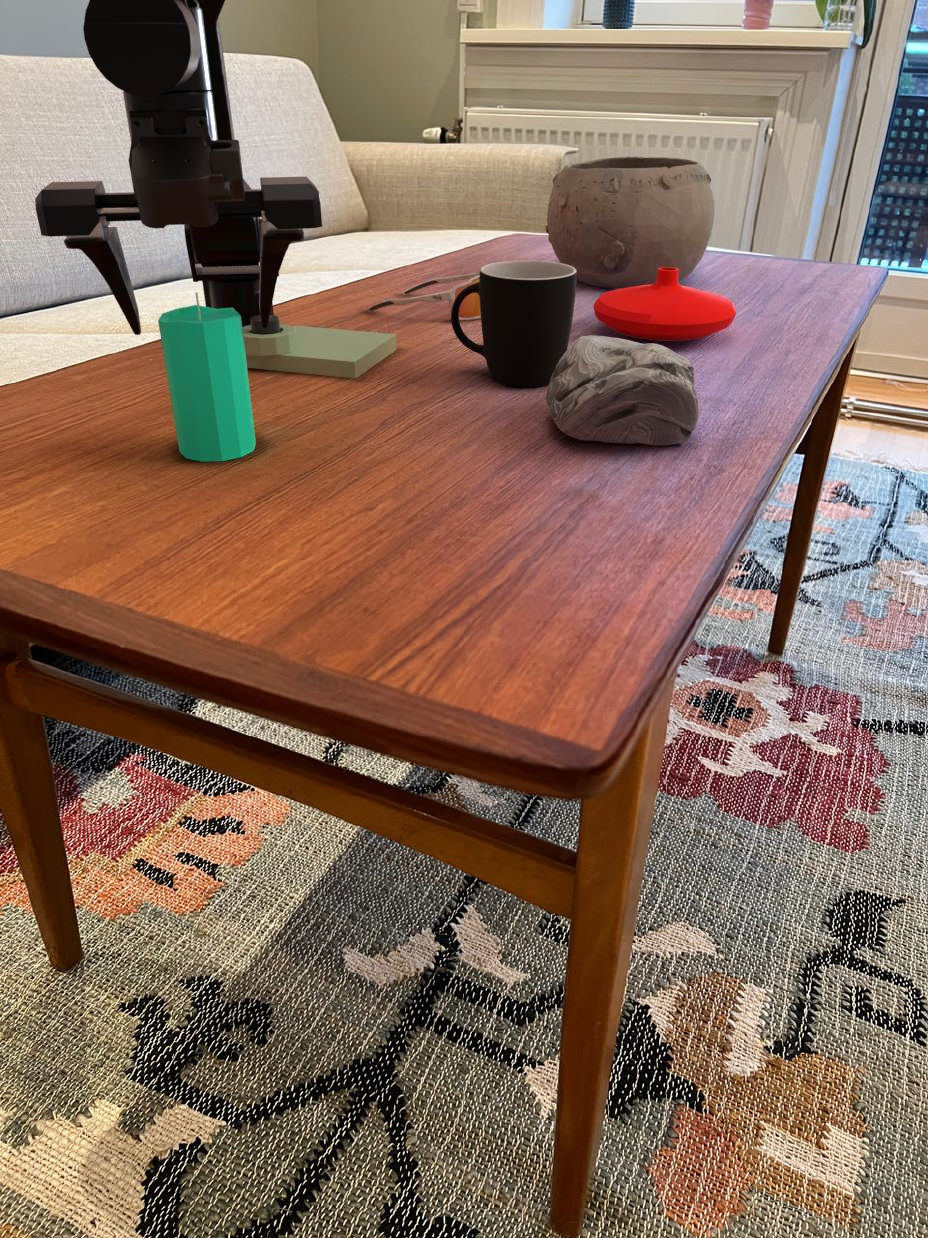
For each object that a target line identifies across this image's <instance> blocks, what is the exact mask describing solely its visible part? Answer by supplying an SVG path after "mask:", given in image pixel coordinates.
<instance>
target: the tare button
mask: <svg viewBox="0 0 928 1238" xmlns="http://www.w3.org/2000/svg"><path fill="white" fill-rule="evenodd" d="M250 320H251V329H252V334H259V335H268V334H275V333H280V324H281V323H280V317H279V316H277V315H275V314H274V315H270V316H269V321H268V326H267V328H264V329H262V326H261V317H260V315H259V316H254V317H252V318H251V319H250Z"/></svg>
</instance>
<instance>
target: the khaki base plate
mask: <svg viewBox="0 0 928 1238" xmlns="http://www.w3.org/2000/svg"><path fill="white" fill-rule="evenodd" d="M242 329H243V337H244V346H245V354H246V362H247V369H256V370H266V371H277V372H287V373H296V374H297V373H298V374H306V375H317V376H327V377H337V378H347V379H357V378H359V377H361V375H363V374H364V373H366V372H367V371H369V370H370V369H371V368H373V367H375V366H376V365H378V363H380V362H381V361H383V360H385V358H388V356H390V355H392V354H393V353H395V351H397V350H398V349H397V347H398V346H397V334H396V333H389V332H388V333H385V332H377V331H376V332H374V331H363V330H353V329H340V328H331V327H316V326H306V325H289V324H285V323H280V333H275V334H268V335H259V334H252V329H251V325H249V326H245V327H242Z"/></svg>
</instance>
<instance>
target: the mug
mask: <svg viewBox="0 0 928 1238" xmlns="http://www.w3.org/2000/svg"><path fill="white" fill-rule="evenodd" d="M479 272H480V278H479V282H478V283H475V284H472V285H470V286H468V287H466V288H465V289H463V290H462V291H461V292H460V293H459V295H458V296H457V297H456V299H455V301H454V303H453V306H452V311H451V315H450V321H451V322H450V323H451V327H452V330H453V333H454V334H455V336H456V339H458V341H459V342H460V343H461V344H462V345H463V346H464V347H465V348H467V349H468V350H470V351H472V352H474V353H476V354H479V355H480V356H481V357H483V358H484V359H485V361H486V366H487V370H488V372H489V375H490V376H491V378H492V380H494V381H495V382H497V383H499V384H501V385H505V386H508V387H515V388H539V387H543V386H548V385H549V383H550V380H551V376H552V374H553V372H554V370H555V368H556V365H557V364H558V362H559V360H560V359H561V357H562V356H563V355H564V353H565V352H566V351H567V350H568V348H569V343H570V342H569V341H570V336H571V331H572V326H573V325H572V324H573V316H574V309H575V302H576V291H577V281H578V280H577V271H576V269H575V268H574V267H572V266H569V265H566V264H562V263H560V262H557V261H556V262H555V261H548V260H528V259H526V260H525V259H521V260H520V259H519V260H518V259H517V260H505V261H504V260H502V261H497V262H491V263H488V264H487V263H486V264H484V265H482V266H481V267H480V269H479ZM472 293H478V295H479V297H480V312H481V318H480V325H481V335H482V342H483V344H478V343H476V342H474V341H473V340H471V339H470V338H469V337H468V336H467V334H466V333H465V332H464V331H463V328H462V325H461V323H460V320H459V309H460V305H461V303H462V302H463V300H464V299H465V298H466V297H467V296H468V295H469V294H472Z"/></svg>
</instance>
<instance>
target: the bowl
mask: <svg viewBox="0 0 928 1238" xmlns="http://www.w3.org/2000/svg"><path fill="white" fill-rule="evenodd" d="M552 184H553V185H552V188H551V192H550V196H549V200H548V205H547V213H546V223H547V225H545V226H544V229H545V233H547V235H548V242H549V243H550V244H551V247H552V250H553V252H554V253H555V256H556V257H557V259H558V261H559V263H562V264H566V265H569V266H572V267H574V268H575V269H576V271H577V281H579V282H580V283H582V284H584V285H588V286H592V287H598V288H606V289H622V288H628V287H634V286H641V285H650V284H654V283H656V280H657V274H658V268H660V267H674V268H678V269H679V272H678V283H681V282H683V281H684V280H685V279H686V278H687V277H688V276H690V275H691V274H692V273H693V272H694V270H695V269H696V268H697V266H698V265H699V263H700V262H701V260H702V259H703V257H704V255H705V253H706V250H707V248H708V245H709V242H710V240H711V236H712V233H713V228H714V222H715V219H716V218H715V217H716V200H715V198H716V197H715V192H714V190H713V186H712V178H711V175H710V174H709V173H708V171H707V169H706V168H705V166H703V164H702V163H701V162H698V161H696V160H692V159H686V158H680V157H679V158H678V157H663V156H661V157H660V156H658V157H657V156H656V157H654V156H653V157H651V156H650V157H644V156H619V157H617V156H616V157H606V158H599V159H593V160H588V161H582V162H574V163H569V164H567V165H565V166H564V167H563V168H562V169H561V170H560V171H559V172H558V173H556V174H555V176H554V177H553V178H552Z"/></svg>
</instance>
